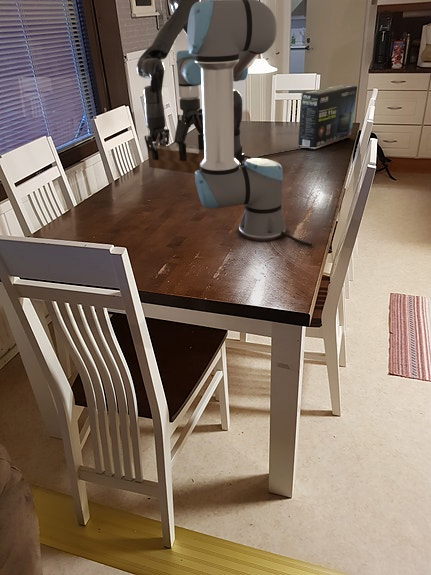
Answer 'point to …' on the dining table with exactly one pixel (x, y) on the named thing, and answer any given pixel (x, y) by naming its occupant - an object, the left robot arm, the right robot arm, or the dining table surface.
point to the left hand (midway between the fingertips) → (159, 158)
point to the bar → (176, 159)
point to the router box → (326, 115)
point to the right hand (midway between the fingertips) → (193, 156)
